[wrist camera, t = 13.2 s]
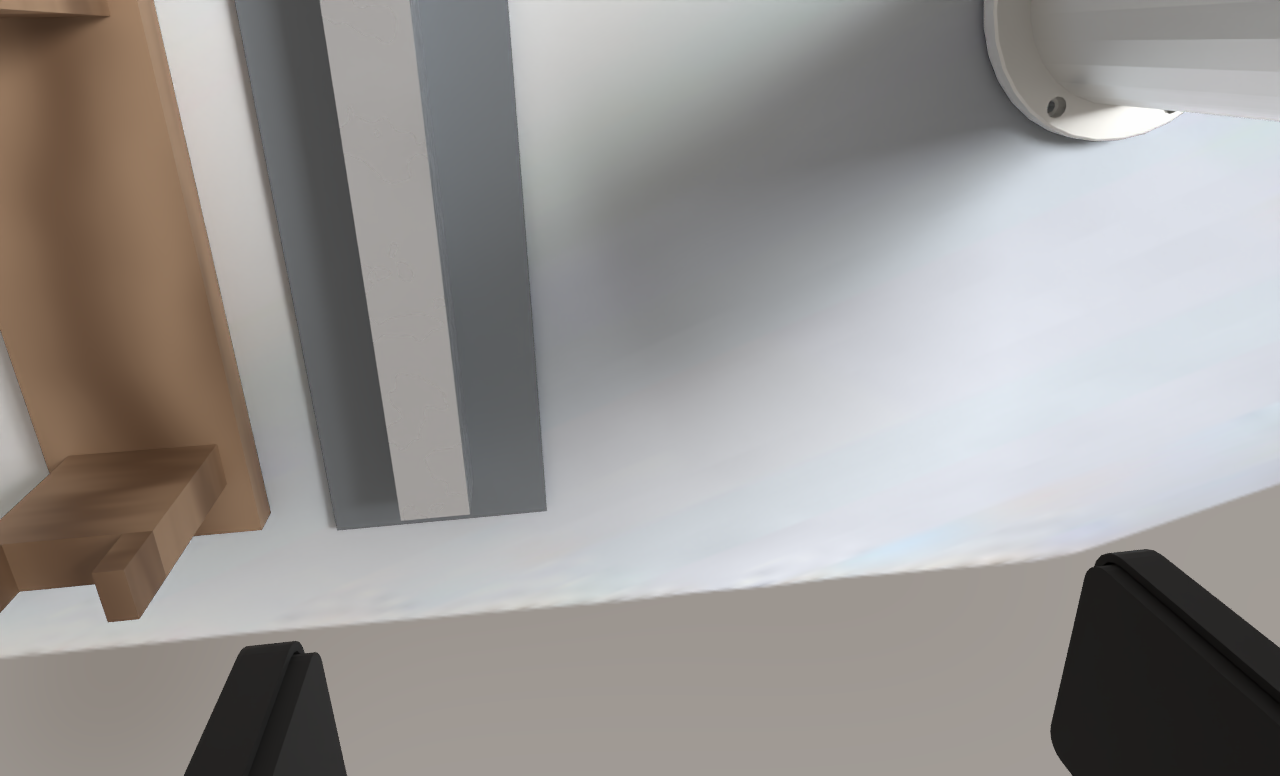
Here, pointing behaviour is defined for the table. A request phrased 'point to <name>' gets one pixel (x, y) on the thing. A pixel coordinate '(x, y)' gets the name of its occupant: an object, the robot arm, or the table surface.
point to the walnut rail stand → (111, 311)
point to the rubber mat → (475, 242)
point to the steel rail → (402, 247)
